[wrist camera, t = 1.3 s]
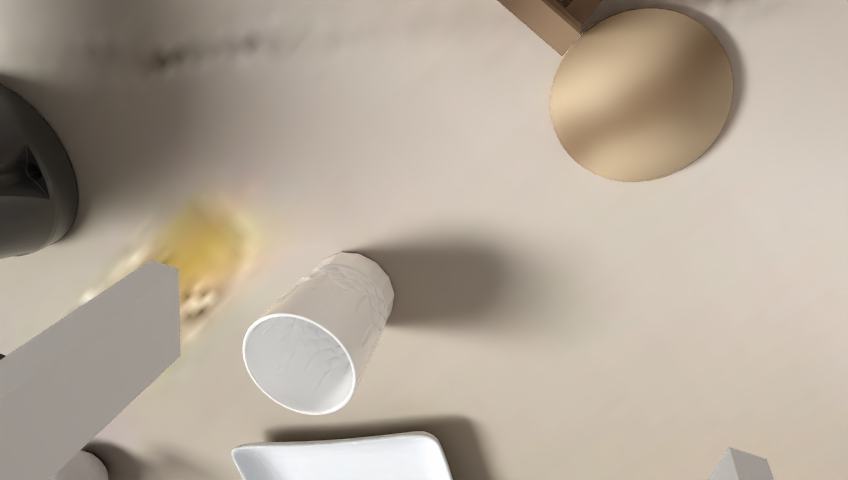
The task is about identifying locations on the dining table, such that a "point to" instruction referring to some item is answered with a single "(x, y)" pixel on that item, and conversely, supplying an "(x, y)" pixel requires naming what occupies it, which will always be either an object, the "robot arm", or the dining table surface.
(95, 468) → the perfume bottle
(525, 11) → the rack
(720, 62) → the mat
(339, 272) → the white cup
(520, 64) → the dining table surface
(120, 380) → the robot arm
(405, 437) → the salad plate
